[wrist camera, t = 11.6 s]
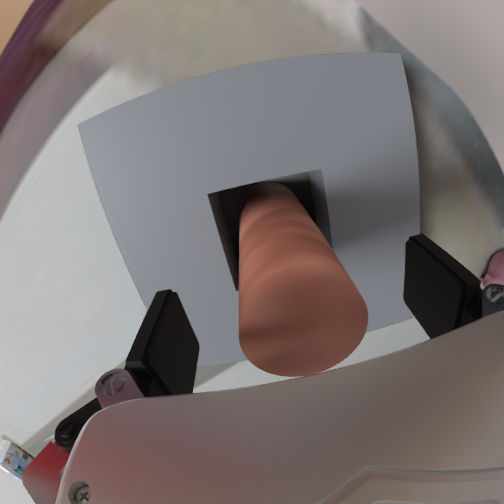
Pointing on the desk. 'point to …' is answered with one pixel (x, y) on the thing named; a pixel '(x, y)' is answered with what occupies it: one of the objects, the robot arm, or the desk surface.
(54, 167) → the desk surface
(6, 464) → the light bulb box
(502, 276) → the video game controller
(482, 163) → the desk surface
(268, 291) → the dowel
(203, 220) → the socket plate
